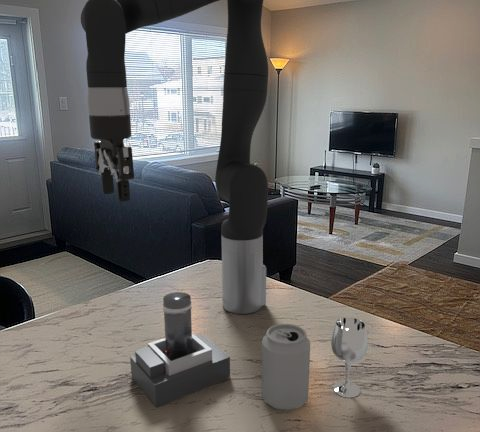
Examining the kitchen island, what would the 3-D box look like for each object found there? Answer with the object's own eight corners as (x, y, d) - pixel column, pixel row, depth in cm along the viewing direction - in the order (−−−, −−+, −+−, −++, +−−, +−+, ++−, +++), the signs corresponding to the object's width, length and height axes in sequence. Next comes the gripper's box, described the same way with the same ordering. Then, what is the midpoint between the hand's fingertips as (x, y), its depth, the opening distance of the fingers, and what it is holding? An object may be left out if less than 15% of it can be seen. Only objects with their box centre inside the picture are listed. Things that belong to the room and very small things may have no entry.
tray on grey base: (201, 352, 91) (200, 322, 89) (230, 377, 83) (229, 344, 81) (131, 377, 83) (129, 344, 81) (156, 407, 75) (154, 372, 73)
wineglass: (344, 404, 75) (348, 336, 72) (321, 385, 80) (324, 320, 77) (371, 393, 78) (376, 327, 75) (348, 375, 83) (352, 313, 80)
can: (306, 417, 73) (309, 346, 69) (258, 410, 74) (258, 341, 71) (309, 387, 80) (312, 322, 77) (265, 382, 81) (266, 318, 78)
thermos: (185, 346, 85) (182, 289, 82) (198, 358, 81) (196, 299, 78) (160, 354, 82) (157, 296, 79) (172, 367, 79) (169, 306, 76)
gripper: (143, 113, 85) (148, 201, 90) (115, 110, 97) (120, 188, 101) (102, 115, 81) (110, 206, 86) (78, 112, 93) (85, 193, 97)
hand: (115, 197), depth 93 cm, fingers open, 8 cm apart
